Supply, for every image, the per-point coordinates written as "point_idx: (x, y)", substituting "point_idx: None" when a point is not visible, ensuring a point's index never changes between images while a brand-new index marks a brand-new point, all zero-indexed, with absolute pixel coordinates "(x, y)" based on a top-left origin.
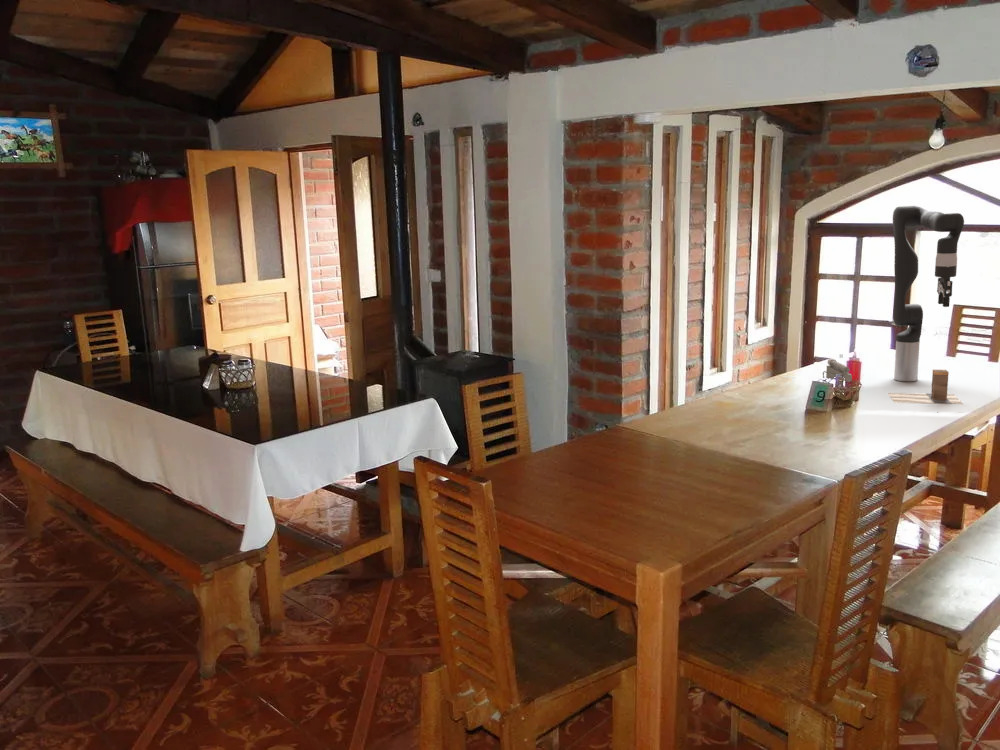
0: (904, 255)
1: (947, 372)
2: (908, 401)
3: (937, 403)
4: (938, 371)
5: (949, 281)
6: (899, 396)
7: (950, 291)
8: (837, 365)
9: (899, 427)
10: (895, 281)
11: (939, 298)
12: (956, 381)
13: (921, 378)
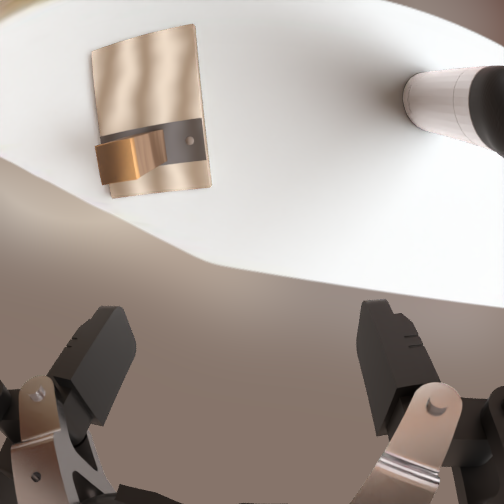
0: None
1: (102, 181)
2: (106, 79)
3: (101, 143)
4: (104, 155)
5: None
6: (154, 53)
7: (2, 458)
8: None
9: None
10: None
11: (378, 352)
12: (411, 223)
13: (444, 146)
